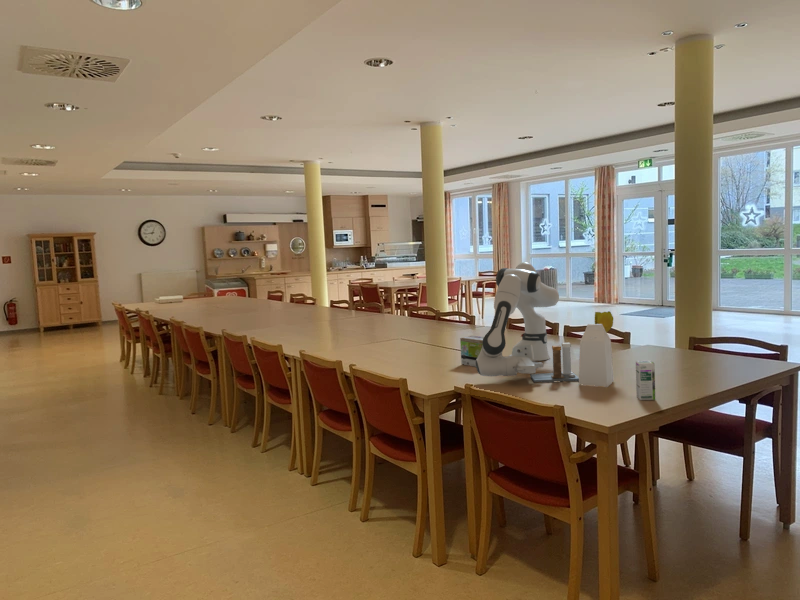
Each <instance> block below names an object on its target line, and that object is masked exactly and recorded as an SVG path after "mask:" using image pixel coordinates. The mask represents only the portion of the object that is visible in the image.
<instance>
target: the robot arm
mask: <svg viewBox="0 0 800 600" xmlns="http://www.w3.org/2000/svg"><path fill="white" fill-rule="evenodd" d="M495 284H496V285H497V290H496V293H495V295H494V302H493V308H494V316H493V321H492V323H491V327H490V329H489V331H488V332H486V334H484V336H483V337H484V338H483V345H482V348H481V351H480V354H479V356H478V358H477V359H476V367H475V368H476V371H477V373H478V374H479V375H480V376H483V377H498V376H504V377H510V376H517V374H518V373H519V374H524V375H525V374H529V375H530V374H537V373H536V372H537V370H536V369H539V368H544V363H543V362H540V361H546V360H550V358H551V357H550V354H549V349H548V344H547V343H548V333H547V326H546V322H547V321H546V318H545V317H544V316H543V314H541V313H538V312H537V311H536V310H535V308H549V307H550V308H551V307H554V306H557V304H558V302H559V299H560V294H559V292H558V290H557V289H556V288H555V287H552V286H549V285H546V284H545V283H543V282H542V278H541V275H540V274H539V273H538V272H537V270H536V268H535V267H534V266H533V264H531V263H529V262H525V261H524V262H520V263H518V264H517V265H516V268H508V267H502V268H499V270H498V271H497V273H496V276H495ZM516 308H517V309H518V311H519V312H520V313H521V315H522V318H523V323H524V332H523V333H522V334H521V335H520V337H521V338H522V339H521V340H519V341H518V342H517V343H516V344H515V345H513V347H512V349H511V354H509V355H507V356H506V355H505V356H504V355H503V351H504V349H505V347H506V337H505V333H506V329H507V328H506V327H507V324H508V321H509V318H510V316H511V315H512V314H514V312H515V310H516ZM538 361H539V362H538Z"/></svg>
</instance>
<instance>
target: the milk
mask: <svg viewBox="0 0 800 600" xmlns="http://www.w3.org/2000/svg"><path fill="white" fill-rule="evenodd" d="M578 367H579V369H578V377H579V381H578V385H579V384H583V385H582V386H586V385H595V386H594V387H598V386H604V387H603V388H608V387H609V386H610V385H612V384H613V383H614V382H615V379H614V378H615V377H614V368H613V351H612V340H611V338H610V336H609V334H608V332H606V331H605V329H604V327H603V325H602V324H595V323H588V324H587V325H586V327H585V331H584V332H583V335H582V337H581V338H580V342H579V365H578ZM613 381H614V382H613ZM612 382H613V383H612Z"/></svg>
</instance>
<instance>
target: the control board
mask: <svg viewBox="0 0 800 600" xmlns="http://www.w3.org/2000/svg"><path fill="white" fill-rule="evenodd" d="M551 375H553V372H549V373H531V374H529V377H530V379H531V380H532V381H533V383H535V382H542V383H554V382H553V381H571V382H579V375H576V374H575V373H574V372H573V374H569V375H563V376H564V378H552V377H551ZM561 375H562V374H561ZM535 384H536V383H535Z"/></svg>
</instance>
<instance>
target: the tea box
mask: <svg viewBox="0 0 800 600" xmlns="http://www.w3.org/2000/svg"><path fill="white" fill-rule="evenodd" d="M483 338H484V336H480V335H469V336H464V337H460V338H459V339H460V340H459V341H460V362H461V365H462V364H464V366H469V365H470V367H475V368H476V359H477V358H478V356H479V354H480V351H481V348H482V345H483Z"/></svg>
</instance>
